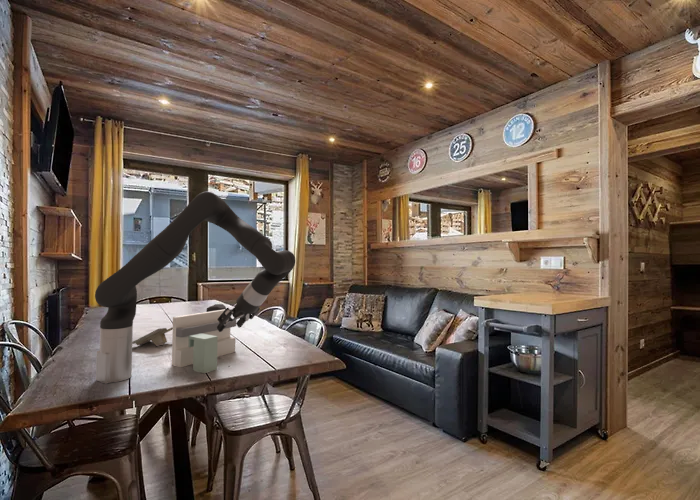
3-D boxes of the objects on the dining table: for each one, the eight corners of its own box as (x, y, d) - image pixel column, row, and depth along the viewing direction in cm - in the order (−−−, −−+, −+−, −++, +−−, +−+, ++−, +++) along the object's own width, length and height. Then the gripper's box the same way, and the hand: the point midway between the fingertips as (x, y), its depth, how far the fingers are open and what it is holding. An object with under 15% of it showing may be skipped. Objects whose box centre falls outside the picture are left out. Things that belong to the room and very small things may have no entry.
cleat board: (181, 367, 134) (182, 318, 135) (171, 365, 137) (172, 317, 137) (235, 351, 157) (236, 309, 157) (226, 350, 160) (227, 308, 160)
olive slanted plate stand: (136, 360, 156) (164, 337, 157) (125, 344, 157) (153, 321, 158) (158, 356, 172) (183, 335, 173) (148, 341, 174) (173, 321, 175)
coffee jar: (210, 342, 174) (211, 303, 174) (227, 342, 174) (228, 303, 174) (203, 347, 164) (204, 305, 164) (221, 347, 164) (221, 306, 165)
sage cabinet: (204, 373, 128) (204, 339, 128) (187, 369, 133) (188, 336, 133) (216, 369, 133) (217, 336, 133) (200, 365, 137) (201, 333, 138)
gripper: (262, 286, 129) (238, 316, 134) (231, 290, 116) (206, 322, 122) (273, 302, 126) (249, 332, 132) (242, 307, 114) (217, 340, 119)
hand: (228, 327), depth 127 cm, fingers open, 8 cm apart
